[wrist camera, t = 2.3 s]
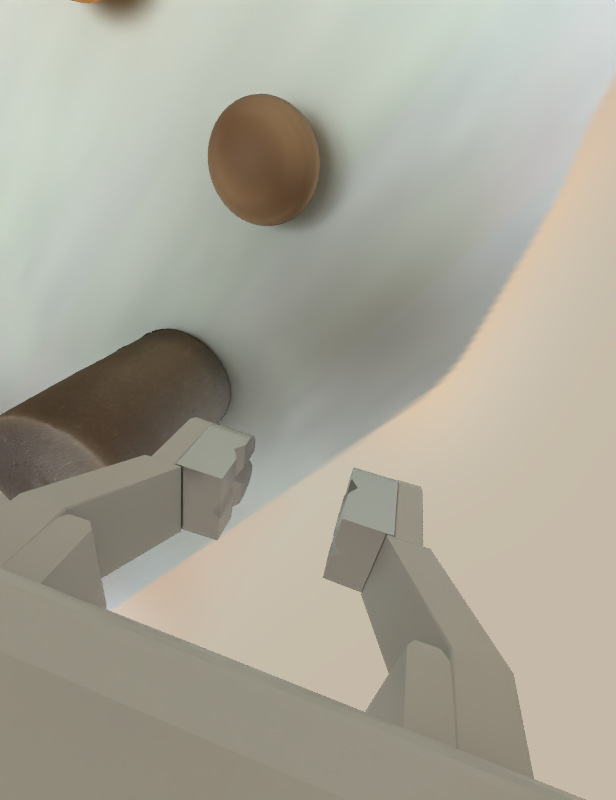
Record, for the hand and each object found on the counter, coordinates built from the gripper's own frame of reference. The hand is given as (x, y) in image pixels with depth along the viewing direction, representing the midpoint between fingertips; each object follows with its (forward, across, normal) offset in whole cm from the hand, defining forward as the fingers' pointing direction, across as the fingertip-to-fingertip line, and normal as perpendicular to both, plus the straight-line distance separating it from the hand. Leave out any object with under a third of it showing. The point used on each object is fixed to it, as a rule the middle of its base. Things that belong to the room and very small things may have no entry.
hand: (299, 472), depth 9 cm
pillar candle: (+19, +14, +12) cm, 27 cm away
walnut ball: (+16, +8, -6) cm, 19 cm away
